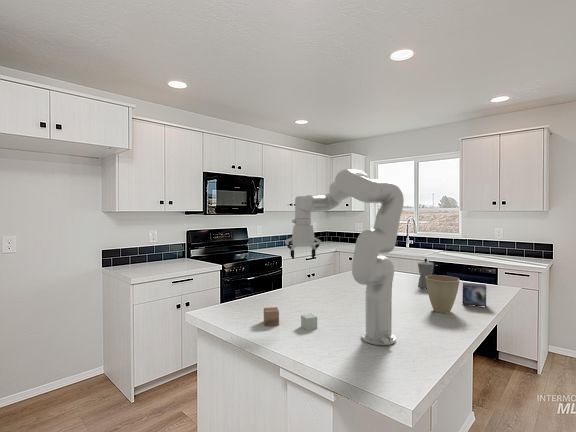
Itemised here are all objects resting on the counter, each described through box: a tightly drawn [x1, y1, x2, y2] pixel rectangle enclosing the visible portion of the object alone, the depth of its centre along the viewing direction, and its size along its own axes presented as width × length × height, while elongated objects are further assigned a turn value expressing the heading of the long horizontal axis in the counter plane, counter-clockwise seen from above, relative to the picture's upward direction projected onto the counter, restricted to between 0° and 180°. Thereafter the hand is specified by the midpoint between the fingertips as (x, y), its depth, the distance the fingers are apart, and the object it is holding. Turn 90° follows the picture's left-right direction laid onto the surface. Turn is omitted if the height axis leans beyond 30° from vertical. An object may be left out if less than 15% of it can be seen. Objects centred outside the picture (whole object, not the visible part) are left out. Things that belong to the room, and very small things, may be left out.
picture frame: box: [462, 282, 487, 308], centre depth 169 cm, size 11×6×10 cm, turn 62°
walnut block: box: [263, 306, 280, 327], centre depth 144 cm, size 6×6×6 cm
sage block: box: [300, 313, 318, 331], centre depth 139 cm, size 5×5×5 cm
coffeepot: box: [417, 258, 437, 289], centre depth 209 cm, size 15×9×18 cm, turn 118°
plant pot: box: [426, 274, 460, 314], centre depth 160 cm, size 15×15×16 cm
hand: (303, 258), depth 157 cm, fingers open, 9 cm apart
